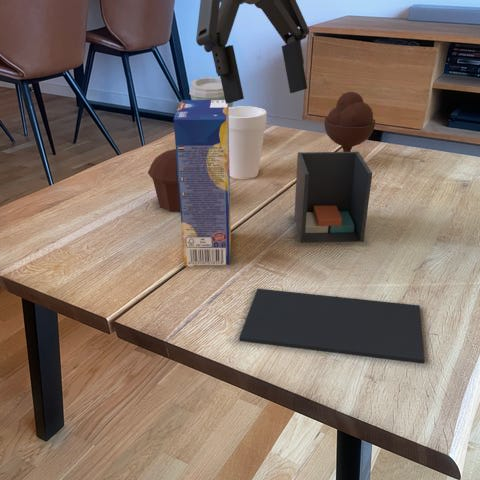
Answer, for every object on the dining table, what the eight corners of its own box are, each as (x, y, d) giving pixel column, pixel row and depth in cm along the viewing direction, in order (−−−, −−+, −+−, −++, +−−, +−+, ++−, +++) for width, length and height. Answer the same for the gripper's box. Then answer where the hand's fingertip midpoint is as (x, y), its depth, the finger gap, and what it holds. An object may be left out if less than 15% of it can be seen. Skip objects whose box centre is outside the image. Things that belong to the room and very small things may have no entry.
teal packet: (324, 218, 98) (325, 211, 97) (347, 217, 98) (348, 211, 97) (330, 232, 93) (330, 226, 92) (353, 232, 93) (354, 225, 92)
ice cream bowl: (310, 164, 124) (315, 93, 115) (342, 153, 130) (348, 85, 121) (348, 176, 117) (356, 102, 109) (380, 164, 123) (389, 93, 115)
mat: (418, 310, 74) (419, 305, 74) (423, 365, 65) (424, 359, 64) (257, 293, 78) (257, 288, 78) (239, 342, 68) (239, 337, 68)
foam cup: (231, 185, 113) (230, 120, 106) (214, 171, 120) (212, 109, 113) (272, 178, 116) (274, 114, 109) (254, 165, 123) (254, 104, 116)
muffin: (153, 218, 100) (147, 164, 94) (148, 196, 109) (143, 145, 103) (218, 212, 102) (216, 158, 96) (208, 191, 111) (206, 140, 105)
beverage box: (230, 236, 93) (228, 99, 81) (229, 268, 84) (226, 119, 72) (190, 236, 93) (181, 99, 81) (184, 268, 84) (173, 119, 72)
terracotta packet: (313, 212, 97) (313, 205, 97) (335, 211, 97) (336, 205, 97) (317, 226, 92) (318, 219, 92) (341, 225, 92) (342, 219, 92)
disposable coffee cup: (245, 146, 135) (245, 80, 127) (213, 157, 129) (211, 88, 120) (214, 138, 141) (212, 74, 133) (183, 147, 135) (178, 81, 126)
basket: (294, 219, 99) (297, 152, 92) (351, 218, 99) (358, 151, 92) (300, 245, 90) (305, 174, 84) (363, 244, 90) (372, 173, 84)
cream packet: (300, 218, 98) (300, 212, 97) (322, 218, 98) (323, 211, 97) (304, 233, 93) (304, 226, 92) (327, 232, 93) (328, 226, 92)
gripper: (275, -59, 82) (302, 92, 88) (140, -73, 66) (185, 112, 72) (316, -82, 76) (341, 81, 82) (179, -104, 60) (223, 99, 67)
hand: (268, 96), depth 77 cm, fingers open, 13 cm apart
